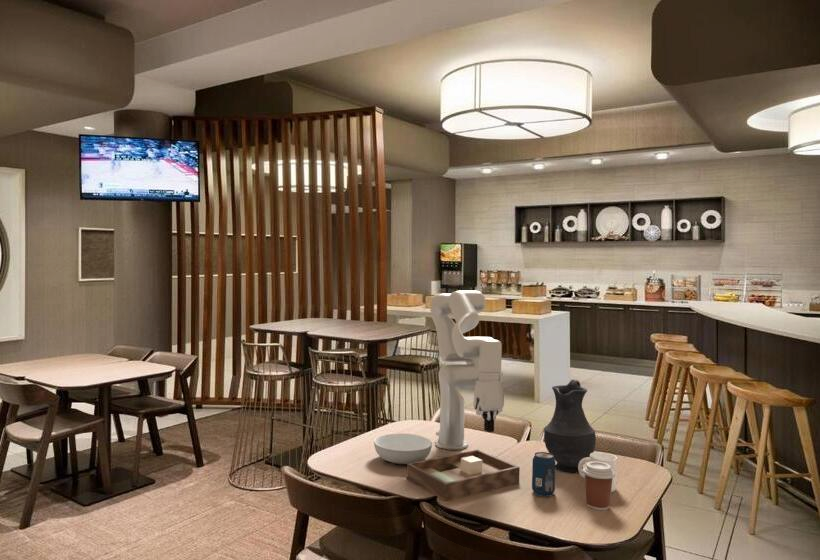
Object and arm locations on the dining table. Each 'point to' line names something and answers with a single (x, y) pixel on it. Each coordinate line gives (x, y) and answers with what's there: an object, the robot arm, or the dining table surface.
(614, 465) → the mug
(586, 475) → the coffee cup
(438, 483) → the trap box
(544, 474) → the soda can
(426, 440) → the serving bowl
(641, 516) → the dining table surface
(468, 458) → the block
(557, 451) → the pitcher
